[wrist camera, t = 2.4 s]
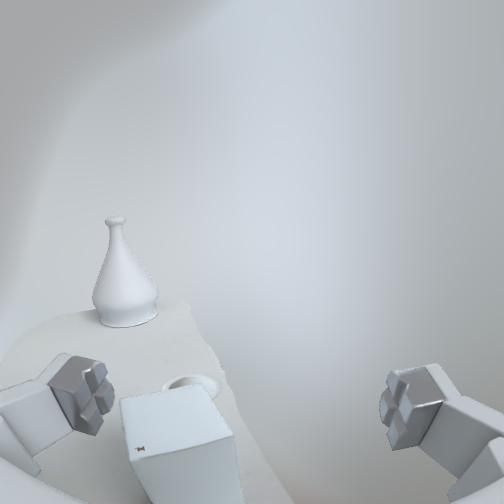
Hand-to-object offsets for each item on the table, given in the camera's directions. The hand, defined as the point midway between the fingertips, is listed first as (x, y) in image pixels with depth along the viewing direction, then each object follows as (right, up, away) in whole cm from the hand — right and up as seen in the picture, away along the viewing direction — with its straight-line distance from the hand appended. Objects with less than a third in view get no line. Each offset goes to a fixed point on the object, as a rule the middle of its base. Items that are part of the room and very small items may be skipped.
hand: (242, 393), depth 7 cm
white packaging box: (-5, -20, +13) cm, 25 cm away
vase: (-31, -13, +62) cm, 71 cm away
